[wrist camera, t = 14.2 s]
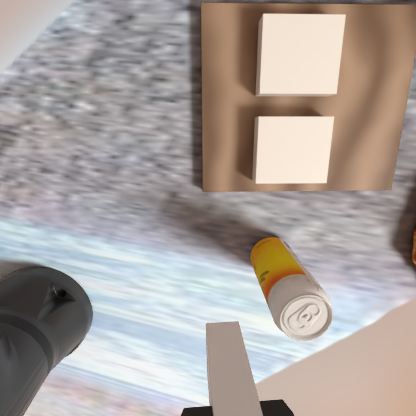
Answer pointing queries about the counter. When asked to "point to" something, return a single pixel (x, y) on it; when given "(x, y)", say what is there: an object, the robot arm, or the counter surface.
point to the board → (307, 105)
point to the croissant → (414, 248)
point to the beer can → (291, 290)
